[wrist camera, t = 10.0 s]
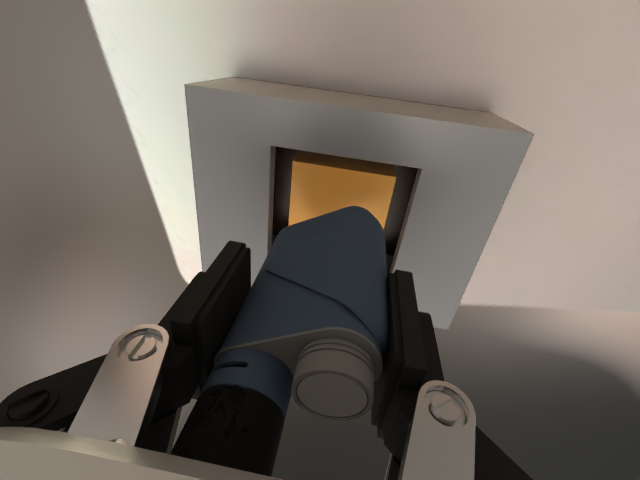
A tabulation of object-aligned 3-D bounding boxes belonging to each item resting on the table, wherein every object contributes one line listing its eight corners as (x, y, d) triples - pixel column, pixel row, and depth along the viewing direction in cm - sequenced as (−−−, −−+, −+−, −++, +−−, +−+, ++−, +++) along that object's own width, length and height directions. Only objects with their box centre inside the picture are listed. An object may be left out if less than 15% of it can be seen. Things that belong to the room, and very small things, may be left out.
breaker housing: (232, 76, 20) (184, 84, 15) (491, 112, 19) (534, 133, 14) (237, 239, 26) (203, 283, 21) (433, 273, 25) (447, 329, 20)
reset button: (307, 141, 21) (292, 161, 17) (392, 154, 21) (396, 177, 17) (301, 217, 24) (286, 248, 20) (375, 229, 24) (375, 263, 20)
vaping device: (267, 229, 15) (52, 600, 5) (373, 194, 14) (367, 648, 3) (290, 271, 16) (152, 643, 6) (391, 244, 15) (426, 695, 5)
